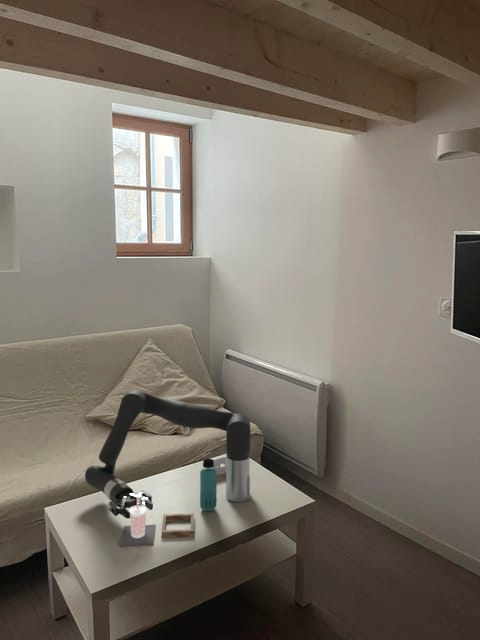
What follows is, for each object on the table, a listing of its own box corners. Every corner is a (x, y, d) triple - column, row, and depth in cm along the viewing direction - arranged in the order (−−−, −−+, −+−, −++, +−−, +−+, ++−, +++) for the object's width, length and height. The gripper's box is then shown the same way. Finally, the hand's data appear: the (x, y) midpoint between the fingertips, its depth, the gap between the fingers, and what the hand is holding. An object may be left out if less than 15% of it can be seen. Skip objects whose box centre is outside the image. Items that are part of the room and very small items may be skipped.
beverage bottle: (203, 516, 182) (204, 465, 178) (196, 507, 187) (197, 458, 184) (219, 512, 185) (220, 462, 181) (212, 503, 190) (212, 455, 187)
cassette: (211, 477, 211) (211, 461, 210) (209, 476, 213) (209, 459, 212) (234, 471, 218) (235, 454, 216) (232, 469, 219) (232, 453, 218)
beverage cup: (127, 531, 171) (126, 494, 168) (144, 527, 173) (144, 490, 171) (131, 541, 165) (130, 502, 163) (149, 537, 167) (148, 499, 165)
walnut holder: (193, 518, 180) (193, 513, 180) (193, 536, 169) (193, 531, 169) (163, 519, 179) (163, 514, 179) (161, 537, 168) (161, 532, 168)
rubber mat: (155, 526, 175) (155, 524, 175) (153, 545, 164) (153, 543, 164) (124, 527, 174) (124, 525, 174) (119, 546, 163) (119, 544, 163)
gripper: (99, 489, 173) (121, 508, 161) (136, 477, 182) (158, 494, 170) (100, 508, 174) (121, 529, 162) (136, 495, 183) (159, 514, 171)
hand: (140, 511), depth 166 cm, fingers open, 8 cm apart
